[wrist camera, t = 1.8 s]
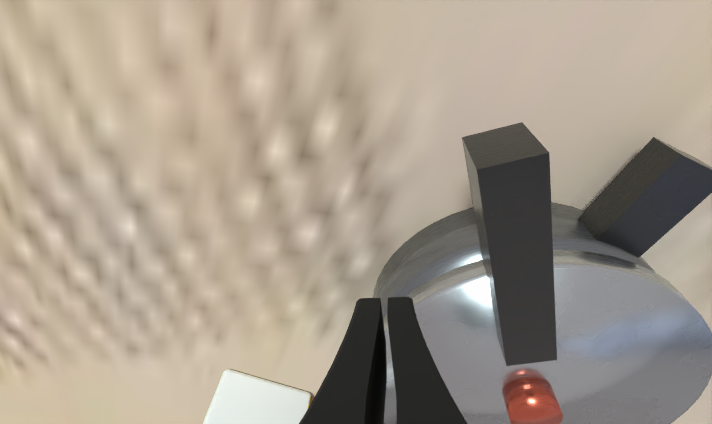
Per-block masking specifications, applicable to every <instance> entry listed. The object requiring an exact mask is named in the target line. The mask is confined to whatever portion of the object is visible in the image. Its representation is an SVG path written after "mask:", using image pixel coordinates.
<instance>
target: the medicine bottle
mask: <svg viewBox="0 0 712 424" xmlns="http://www.w3.org/2000/svg"><path fill="white" fill-rule="evenodd" d="M310 401H311V394H310V393H309V392H306V391H303V390H299V389H296V388H292V387H289V386H286V385H282V384H279V383H275V382H272V381H268V380H265V379H262V378H258V377H255V376H251V375H248V374H244V373H241V372H238V371H234V370H231V369H227V370H225V371H224V373H223V375H222V377H221V380H220V382H219V385H218V387H217V390H216V392H215V395H214V397H213V400H212V402H211V405H210V407H209V410H208V412H207V415H206V417H205V420H204V422H203V424H299V423H300V421H301V420H302V418H303V416H304V415H305V413H306V411H307V410H308V408H309V406H310Z"/></svg>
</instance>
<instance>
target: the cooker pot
mask: <svg viewBox="0 0 712 424" xmlns="http://www.w3.org/2000/svg"><path fill="white" fill-rule="evenodd" d="M711 193H712V168H711V167H710V166H708V165H706V164H705V163H703V162H702V161H700V160H698V159H697V158H695V157H693V156H691V155H689V154H686V153H684V152H682V151H680V150H678V149H676V148H674V147H672V146H670V145H668V144H666V143H664V142H662V141H660V140H658V139H656V138H654V137H653V138H652V139H651V141H650V142H649V143H648V144H647V145H646V146H645V147H644V148H643V149H642V150H641V151H640V152H639V153H638V155H637V156H636V157H635V158H634V159H633V160H632V161H631V162H630V163H629V164H628V165H627V166H626V167H625V169H624V170H623V171H622V172H621V173H620V174H619V175H618V176H617V177H616V178H615V179H614V180H613V181H612V183H611V184H610V185H609V186H608V187H607V188H606V189H605V190H604V191H603V192H602V193H601V194H600V195H599V197H598V198H597V199H596V200H595V201H594V202H593V203H592V204H591V205H590V206H589V207H588V208H587V209H586V211H583V210H580V209H577V208H574V207H571V206H566V205H562V204H557V203H552V202H551V214H552V240H553V250H573V251H587V252H592V253H598V254H604V255H610V256H613V257H617V258H620V259H624V260H627V261H630V262H633V263H636V264H638V265H640V266H642V267H644V268H647V269H649V270H651V271H653V272H654V270H653V269H652V268H651V267H650V266H649V265H648V264H647V263H646V261H645V260H644V259H643V258H642V257H641V255H642V254H643V253H645V252H646V251H647V250H648V249H649V248H650V247H651V246H652V245H654V244H655V243H656V242H657V241H658V240H659V239H660V238H661V237H662V236H664V235H665V234H666V233H667V232H668V231H669V230H670V229H671V228H673V227H674V226H675V225H676V224H677V223H678V222H679V221H680V220H682V219H683V218H684V217H685V216H686V215H687V214H688V213H689V212H691V211H692V210H693V209H694V208H695V207H696V206H697V205H698V204H699V203H701V202H702V201H703V200H704V199H705V198H706V197H707V196H708V195H710V194H711ZM479 260H482V255H481V249H480V243H479V237H478V231H477V225H476V219H475V213H474V208H470V209H467V210H464V211H461V212H458V213H455V214H452V215H450V216H448V217H445V218H443V219H441V220H439V221H437V222H435V223H433V224H431V225H430V226H428V227H426V228H425V229H423V230H421V231H420V232H418V233H417V234H415V235H414V236H413V237H412V238H410V239H409V240H408V241H407V242H405V243H404V244H403V245H402V246H401V247H400V248H399V249H398V250H397V251H396V252H395V253H394V254H393V256H392V257H391V258H390V260H389V261H388V262H387V264H386V265H385V266H384V268H383V270H382V272H381V274H380V276H379V278H378V280H377V283H376V287H375V290H374V295H373V298H381V306H382V314H383V319H384V318H385V316H386V315H387V306H388V297H406V296H407V295H409V294H410V293H411V292H413V291H414V290H415V289H417V288H418V287H420V286H422V285H423V284H425V283H427V282H429V281H430V280H432V279H434V278H435V277H438V276H440V275H442V274H444V273H447V272H449V271H451V270H453V269H455V268H458V267H461V266H464V265H467V264H470V263H473V262H476V261H479Z"/></svg>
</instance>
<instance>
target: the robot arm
mask: <svg viewBox="0 0 712 424" xmlns="http://www.w3.org/2000/svg"><path fill="white" fill-rule="evenodd" d="M387 321H388V330H389V338H390V347H391V356H392V365H393V373H394V382H395V390H396V410H397V424H467V422H466V420H465V419H464V417H463V415H462V414H461V412H460V410H459V409H458V407H457V405H456V403H455V401H454V400H453V398H452V396H451V394H450V392H449V390H448V388H447V387H446V385H445V383H444V381H443V379H442V377H441V375H440V373H439V371H438V369H437V367H436V365H435V362H434V360H433V358H432V356H431V353H430V351H429V349H428V347H427V344H426V342H425V339H424V337H423V334H422V331H421V329H420V326H419V323H418V320H417V317H416V313H415V309H414V305H413V299H411V298H410V297H388V306H387ZM386 384H387V359H386V339H385V331H384V322H383V314H382V306H381V298H362V299H359V300H358V301H357V302H356V306H355V310H354V313H353V316H352V319H351V322H350V324H349V327H348V329H347V332H346V334H345V337H344V339H343V342H342V344H341V346H340V348H339V350H338V353H337V355H336V357H335V359H334V361H333V364H332V366H331V368H330V370H329V371H328V373H327V375H326V377H325V379H324V381H323V383H322V385H321V387H320V389H319V391H318V392H317V394H316V396H315V398H314V399H313V401H312V403H311V405H310V406H309V408H308V410H307V411H306V413H305V415H304V416H303V418H302V420H301V421H300V423H299V424H384V412H385V398H386Z"/></svg>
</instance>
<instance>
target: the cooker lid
mask: <svg viewBox="0 0 712 424" xmlns="http://www.w3.org/2000/svg"><path fill="white" fill-rule="evenodd" d="M462 140H463V146H464V152H465V159H466V165H467V171H468V177H469V183H470V189H471V195H472V201H473V207H474V213H475V219H476V225H477V231H478V237H479V243H480V249H481V255H482V260H479V261H476V262H473V263H470V264H467V265H464V266H461V267H458V268H455V269H453V270H451V271H449V272H447V273H444V274H442V275H440V276H438V277H435V278H434V279H432V280H430V281H429V282H427V283H425V284H423V285H422V286H420V287H418V288H417V289H415V290H414V291H413V292H411V293H410V294H409V295H407V296H406V297H410V298H411V299H413V305H414V309H415V313H416V317H417V320H418V323H419V326H420V329H421V331H422V334H423V337H424V339H425V342H426V344H427V347H428V349H429V351H430V353H431V356H432V358H433V360H434V362H435V365H436V367H437V369H438V371H439V373H440V375H441V377H442V379H443V381H444V383H445V385H446V387H447V388H448V390H449V392H450V394H451V396H452V398H453V400H454V401H455V403H456V405H457V407H458V409H459V410H460V412H461V414H462V415H463V417H464V419H465V420H466V422H467V424H671V423H672V422H674V421H675V420H676V419H677V418H679V417H680V416H681V415H682V414H683V413H685V412H686V411H687V410H688V409H689V408H690V407H691V406H692V405H693V404H694V402H695V401H696V400H697V399H698V398H699V397H700V395H701V394H702V392H703V391H704V389H705V388H706V386H707V385H708V382H709V380H710V378H711V375H712V333H711V330H710V328H709V327H708V325H707V324H706V322H705V321H704V319H703V318H702V316H701V315H700V314H699V313H698V311H697V310H696V309H695V308H694V307H693V306H692V305H691V304H690V303H689V302H688V300H687V299H686V298H685V297H684V296H683V295H682V294H681V293H680V292H679V291H678V290H677V289H676V288H675V287H674V286H673V285H672V284H671V283H670V282H668V281H667V280H665V279H664V278H662V277H661V276H659V275H658V274H656V273H655V272H653V271H651V270H649V269H647V268H644V267H642V266H640V265H638V264H636V263H633V262H630V261H627V260H624V259H620V258H617V257H613V256H610V255H604V254H598V253H592V252H587V251H573V250H553V240H552V214H551V188H550V162H549V152H548V151H547V150H546V149H545V148H544V146H543V145H542V144H541V143H540V142H539V141H538V140H537V139H536V137H535V136H534V135H533V134H532V133H531V132H530V131H529V130H528V129H527V127H526V126H525V125H524V124H523V123H518V124H514V125H510V126H506V127H502V128H498V129H494V130H490V131H486V132H482V133H478V134H474V135H470V136H466V137H462ZM383 322H384V331H385V339H386V359H387V384H386V398H385V412H384V424H397V410H396V390H395V382H394V373H393V365H392V356H391V347H390V338H389V330H388V321H387V315H386V316H385V318H384V319H383Z"/></svg>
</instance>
